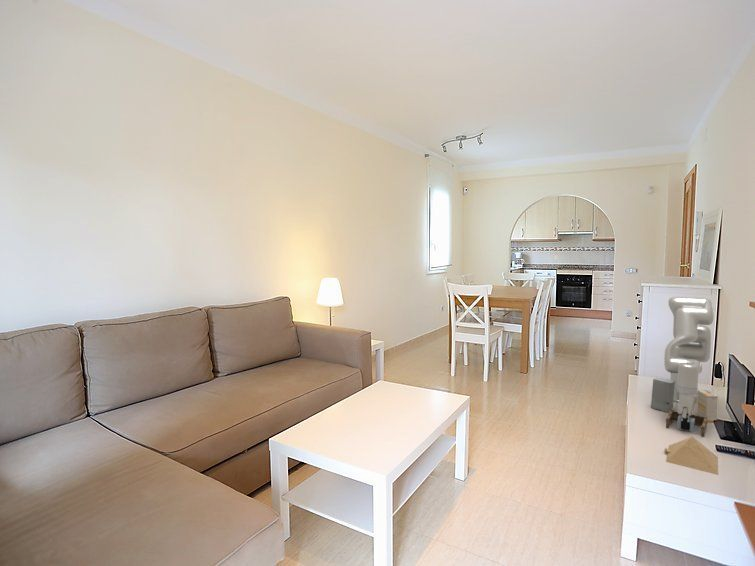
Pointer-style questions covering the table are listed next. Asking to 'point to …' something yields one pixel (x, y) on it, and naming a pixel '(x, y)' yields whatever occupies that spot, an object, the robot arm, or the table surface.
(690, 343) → the robot arm
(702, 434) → the walnut open-sided box
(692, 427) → the grey block
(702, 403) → the supplement box
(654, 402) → the skincare box
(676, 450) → the model pyramid
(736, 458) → the table surface
